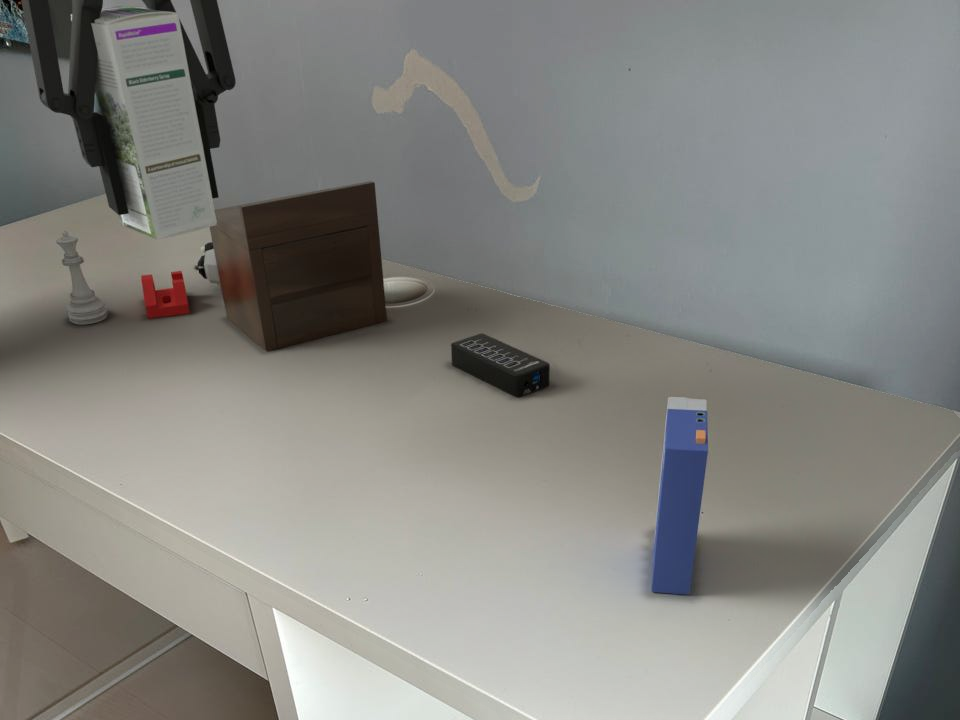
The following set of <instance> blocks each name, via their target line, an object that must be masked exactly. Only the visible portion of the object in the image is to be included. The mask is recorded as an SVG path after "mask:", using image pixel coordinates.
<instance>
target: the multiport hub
mask: <svg viewBox="0 0 960 720" xmlns="http://www.w3.org/2000/svg"><path fill="white" fill-rule="evenodd" d="M450 352H451V366H452V367H455V368H456V369H458V370H460V371H463V372H465V373H466V374H468V375H471V376H473V377H475V378H477V379H478V380H481V381H483V382H485V383H487V384H489V385H491V386H493V387H495V388H496V389H498V390H501V391H503V392H505V393H506V394H508V395H510V396H512V397H514V398H522V397H524V396H527V395H530V394H532V393H534V392H537V391H540V390H543V389H545V388H548V387H550V370H551V369H550V367H551V366H550V362H547V361H545V360H543V359H541V358H539V357H537V356H535V355H532V354H529V353H528V352H525V351H523V350H521V349H518V348H517V347H515V346H512V345H510V344H507V343H505V342H504V341H501V340H499V339H497V338H494V337H492V336H490V335H487V334H486V333H478V334H474V335H472V336H469V337H465V338H463V339H460V340H456V341H454V342H452V343H450Z"/></svg>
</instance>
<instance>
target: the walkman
mask: <svg viewBox="0 0 960 720" xmlns="http://www.w3.org/2000/svg"><path fill="white" fill-rule="evenodd" d="M666 405H667V407H666V415H665V424H664V436H663V446H662V456H661V465H660V475H659V487H658V497H657V506H656V517H655V527H654V540H653V554H652V555H653V557H652V572H651V573H652V575H651V592H652V593H661V594H676V595H690V593H691V586H692V578H693V572H694V571H693V570H694V562H695V554H696V548H697V547H696V546H697V539H698V531H699V525H700V524H699V523H700V516H701V509H702V500H703V493H704V485H705V478H706V469H707V462H708V455H709V436H708V435H709V433H708V431H709V430H708V429H709V428H708V427H709V426H708V407H707V405H708V403H707V399H703V398H702V399H701V398H700V399H699V398H688V397H685V396H683V397H680V396H669V397H668V398H667V404H666Z"/></svg>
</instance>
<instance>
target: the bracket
mask: <svg viewBox="0 0 960 720" xmlns="http://www.w3.org/2000/svg"><path fill="white" fill-rule="evenodd" d="M170 275H171V283H172V287H171V288H161V289H156V286H155V281H154V276H153V274H143V275H142V274H141V275H140V281H141V287H142V293H143V301H144V307H145V311H146V315H147V319H157V318H163V317H171V316H172V317H173V316H177V315H178V316H180V315H187V314H190V306H189V300H188V293H187V289H186V285H185V279H184V275H183V271H182V270H177V271H170Z"/></svg>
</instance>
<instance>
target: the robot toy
mask: <svg viewBox="0 0 960 720" xmlns="http://www.w3.org/2000/svg"><path fill="white" fill-rule="evenodd" d="M200 250H201V252H202V253H203V254H204V255H201V256H200V258H199V260H198V262H197V265H196V264H193V265H192V267H193V270H194V271H198V274H199V275H201V277H202V278H203V279H205V280H208V282H209V283H210V284H217V286H218V287H221V284H220V279H219V274H218V268H217V263H216V258H215V253H214V248H213V243H212V241H210V242H207V243H206V244H204V245H202V246H201V247H200Z"/></svg>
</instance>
